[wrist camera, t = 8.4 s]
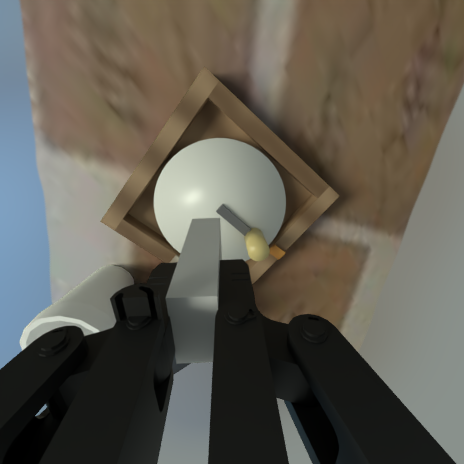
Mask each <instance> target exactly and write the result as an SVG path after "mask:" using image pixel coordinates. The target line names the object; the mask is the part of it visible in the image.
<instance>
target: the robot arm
mask: <svg viewBox="0 0 464 464" xmlns="http://www.w3.org/2000/svg"><path fill="white" fill-rule="evenodd" d="M110 301H111V305H112V308H113V312H114V315H115V319H116V323H115V325H114V327H113V328H110V329H107V330H104V331H101V332H97V333H93V334H90V335H86V336H84V333H83V331H82V329H81V328H79V327H77V326H63V327H59V328H55V329H53V330H51V331H49V332H47V333H44V334H43V335H41V336H40V337H39V338H37V339H36V340H34V341H33V342H32V343H31V344H30V345H28V346H27V347H26V348H25V349H24V350H23V351H21V352H20V353H19V354H18V355H17V356H16V357H14V358H13V359H12V360H11V361H10V362H9V363H7V364H6V365H5V366H4V367H3V368H1V369H0V464H157V462H158V456H159V451H160V447H161V441H162V436H163V431H164V426H165V421H166V416H167V410H168V405H169V400H170V395H171V390H172V385H173V369H172V364H173V360H174V355H175V358H176V364H180V363H201V362H213V373H212V374H213V376H212V394H211V415H210V436H209V457H208V464H289V462H288V456H287V451H286V447H285V441H284V436H283V431H282V426H281V420H280V415H279V410H278V404H277V399H276V398H280V399H283V400H284V402H285V404H286V406H287V408H288V411H289V413H290V415H291V417H292V420H293V422H294V424H295V426H296V428H297V430H298V433H299V435H300V437H301V439H302V441H303V444H304V446H305V448H306V450H307V452H308V454H309V457H310V459H311V461H312V463H313V464H456V463H455V462H454V461H453V459H452V458H451V457H450V456H449V455H448V454H447V453H446V452H445V451H444V449H443V448H442V447H441V446H440V445H439V444H438V443H437V441H436V440H435V439H434V438H433V437H432V436H431V435H430V433H429V432H428V431H427V430H426V429H425V428H424V427H423V426H422V424H421V423H420V422H419V421H418V420H417V419H416V418H415V416H414V415H413V414H412V413H411V412H410V411H409V410H408V409H407V407H406V406H405V405H404V404H403V403H402V402H401V401H400V399H399V398H397V396H396V395H395V394H394V393H393V392H392V390H391V389H390V388H389V387H388V386H387V385H386V384H385V383H384V381H383V380H382V379H381V378H380V377H379V376H378V375H377V373H376V372H375V371H374V370H373V369H372V368H371V367H370V366H369V364H368V363H367V362H366V361H365V360H364V359H363V358H362V357H361V356H360V354H359V353H358V352H357V351H356V350H355V349H354V347H353V346H352V345H351V344H350V343H349V342H348V341H347V340H346V338H345V337H344V336H343V335H342V334H341V333H340V332H339V331H338V329H337V328H336V327H335V326H334V325H333V324H331V323H330V322H329V321H328V320H326V319H324V318H322V317H320V316H316V315H311V314H304V315H299V316H296V317H294V318H293V319H292V320H291V321H290V322H289V324H286V323H281V322H277V321H273V320H270V319H268V318H266V317H265V316H263V315H262V314H261V313H260V312H259V311H258V309H257V307H256V304H255V298H254V293H253V287H252V282H251V276H250V271H249V265H248V264H247V263H246V262H245V261H244V260H243V259H232V260H222V247H221V226H220V218H199V219H192V221H191V224H190V227H189V230H188V233H187V236H186V239H185V242H184V245H183V248H182V251H181V254H180V257H179V260H178V262H175V263H161V264H159V265H158V266H157V267H156V268H155V269H153V271H152V273H151V275H150V277H149V279H148V281H147V283H146V284H144V283H140V284H133V285H130V286H127V287H124V288H122V289H121V290H119V291H117V292H116V293H115V294H114V295H113V296H112V297H111V298H110ZM45 404H46V405H47V408H46V409H45V410H44V411H43V412H42V413H41V414H40V415H38V416H35V415H36V414H37V413H38V412H39V410H40V409H41V408H42V407H43V406H44V405H45Z"/></svg>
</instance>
